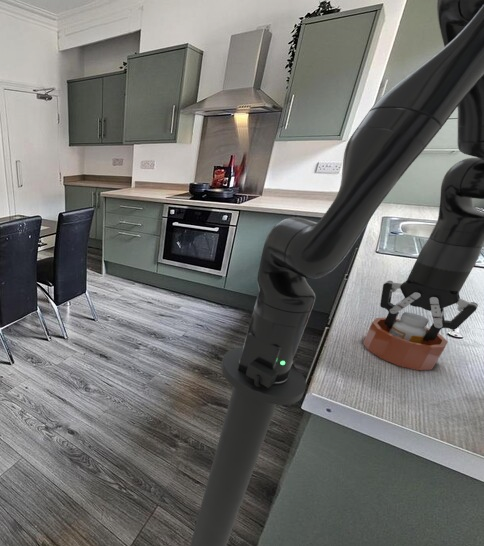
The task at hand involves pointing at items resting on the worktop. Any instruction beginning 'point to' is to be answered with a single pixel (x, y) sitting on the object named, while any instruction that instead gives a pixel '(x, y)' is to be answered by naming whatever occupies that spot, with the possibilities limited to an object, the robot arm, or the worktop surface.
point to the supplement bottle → (410, 327)
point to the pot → (403, 347)
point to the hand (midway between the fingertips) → (407, 333)
